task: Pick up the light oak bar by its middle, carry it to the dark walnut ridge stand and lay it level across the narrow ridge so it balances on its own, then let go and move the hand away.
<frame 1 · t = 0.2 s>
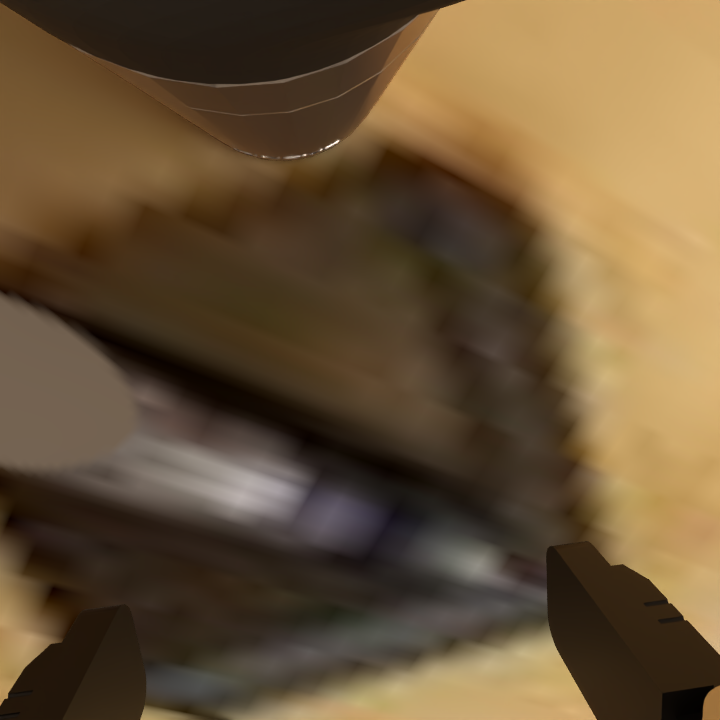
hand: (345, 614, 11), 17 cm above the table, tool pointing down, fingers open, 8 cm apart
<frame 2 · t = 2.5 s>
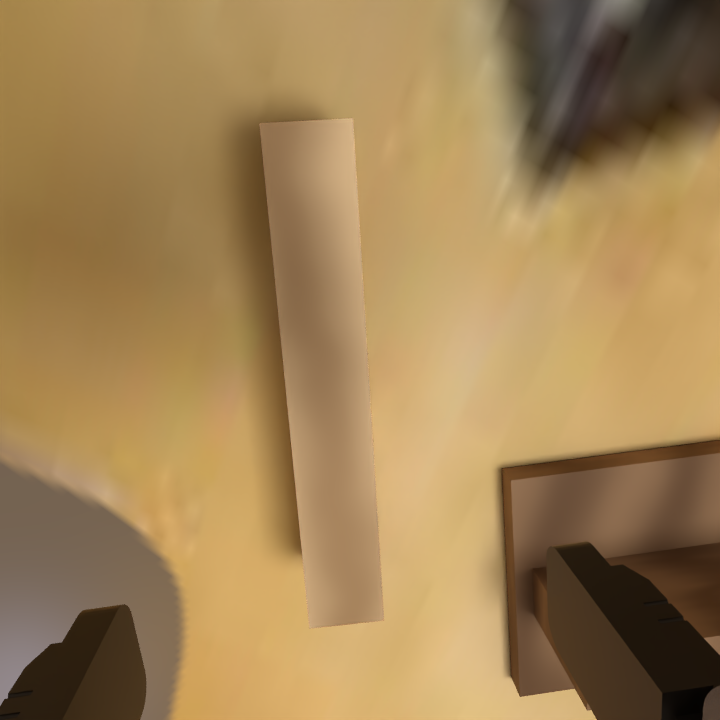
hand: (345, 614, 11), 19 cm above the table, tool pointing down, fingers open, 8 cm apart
oak bar: (326, 365, 30), on the table
ridge stand: (655, 557, 34), on the table
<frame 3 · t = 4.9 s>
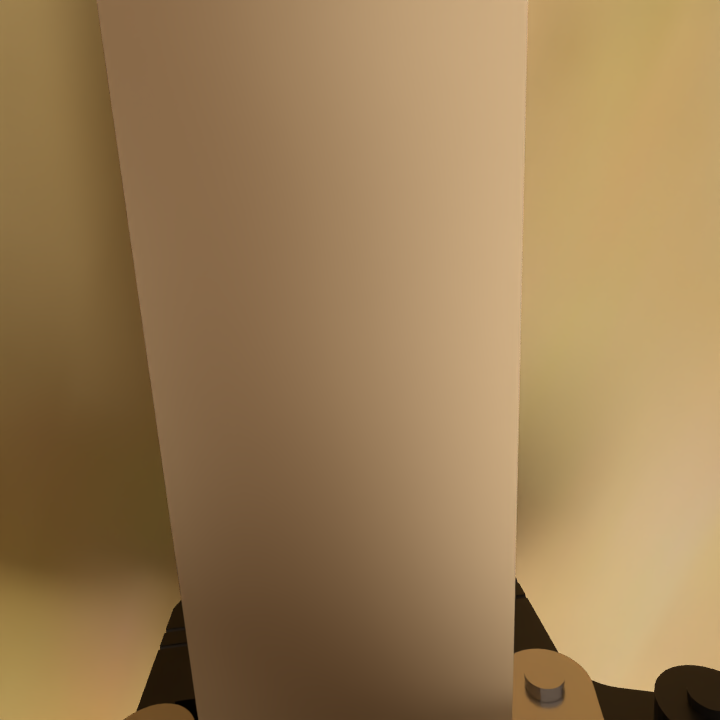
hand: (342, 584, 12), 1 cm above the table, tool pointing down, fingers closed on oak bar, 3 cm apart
oak bar: (342, 558, 13), on the table, touching gripper
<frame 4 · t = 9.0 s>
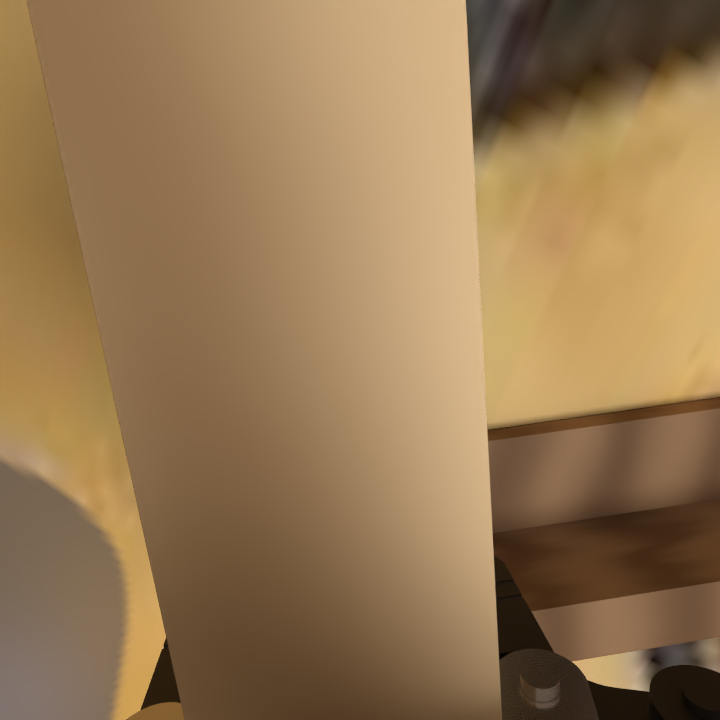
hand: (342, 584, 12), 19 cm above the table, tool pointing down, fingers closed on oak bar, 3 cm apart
oak bar: (340, 554, 13), point 18 cm above the table, touching gripper
ridge stand: (599, 525, 34), on the table
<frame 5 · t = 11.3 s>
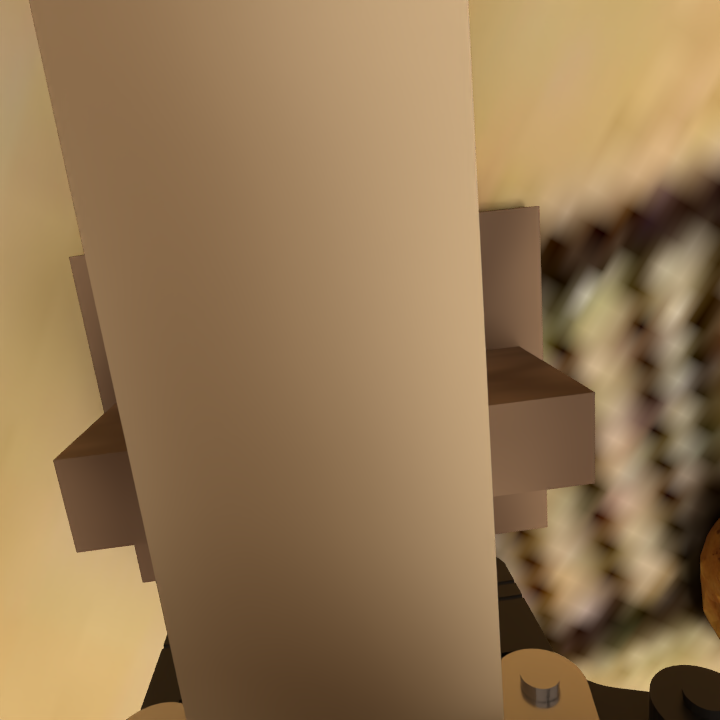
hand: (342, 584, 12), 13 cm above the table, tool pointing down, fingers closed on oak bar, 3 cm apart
oak bar: (341, 556, 13), point 13 cm above the table, touching gripper
ridge stand: (329, 393, 25), on the table
when the fingers open (9 cm above the table, at t = 13.2 s): oak bar stays where it is, resting on ridge stand.
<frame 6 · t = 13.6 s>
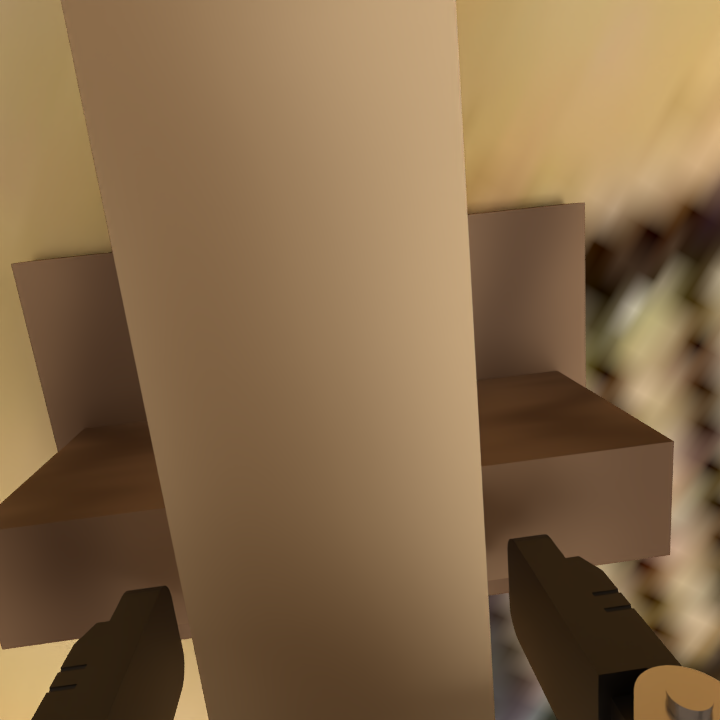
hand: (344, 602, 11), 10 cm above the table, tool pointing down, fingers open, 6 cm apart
oak bar: (342, 541, 13), point 8 cm above the table, touching ridge stand
ridge stand: (329, 425, 21), on the table
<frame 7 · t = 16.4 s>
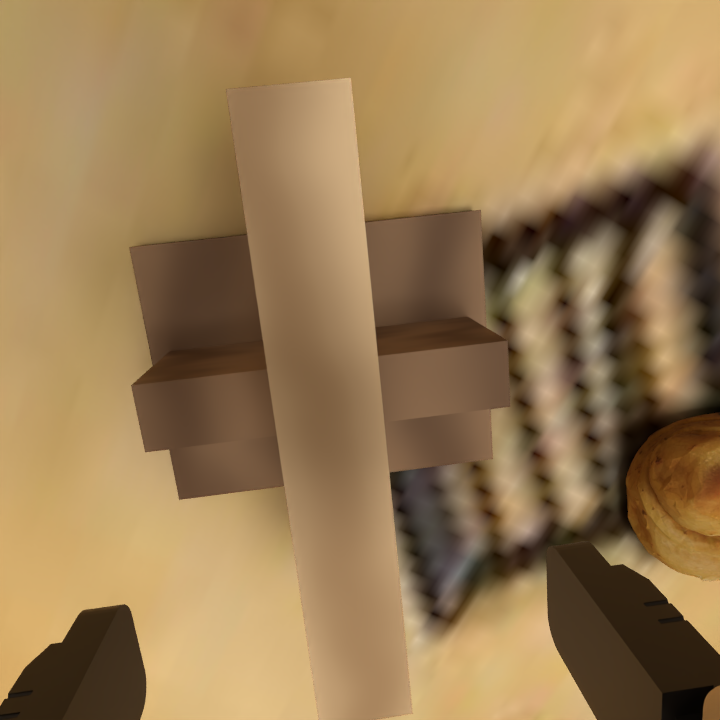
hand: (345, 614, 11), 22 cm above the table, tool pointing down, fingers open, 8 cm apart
bread roll: (702, 470, 36), on the table
oak bar: (328, 394, 24), point 8 cm above the table, touching ridge stand
ridge stand: (323, 354, 32), on the table
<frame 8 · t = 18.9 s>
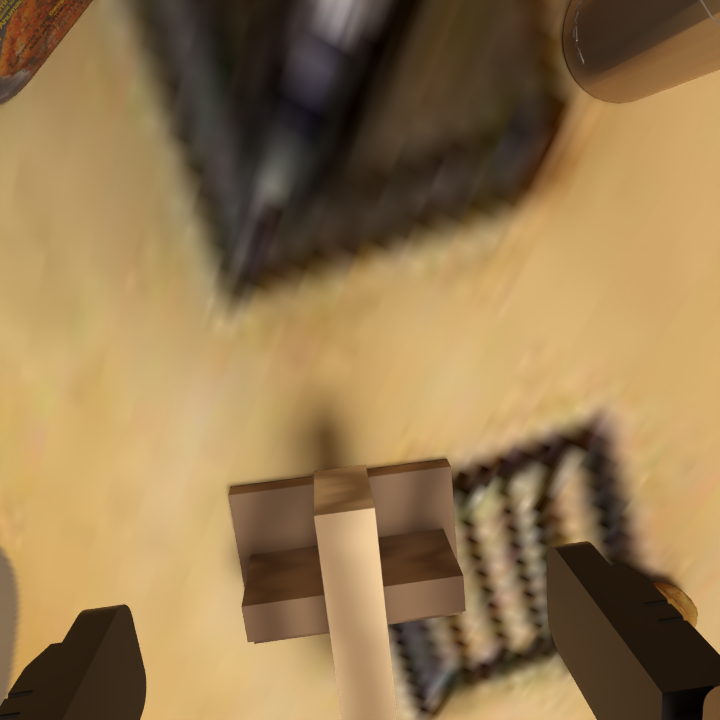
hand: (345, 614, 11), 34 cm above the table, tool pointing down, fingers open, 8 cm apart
bread roll: (610, 609, 53), on the table
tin: (44, 22, 38), on the table
oak bar: (356, 607, 41), point 8 cm above the table, touching ridge stand
ridge stand: (349, 547, 49), on the table
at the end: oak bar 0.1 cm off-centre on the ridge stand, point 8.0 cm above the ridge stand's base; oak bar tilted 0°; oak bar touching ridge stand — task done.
